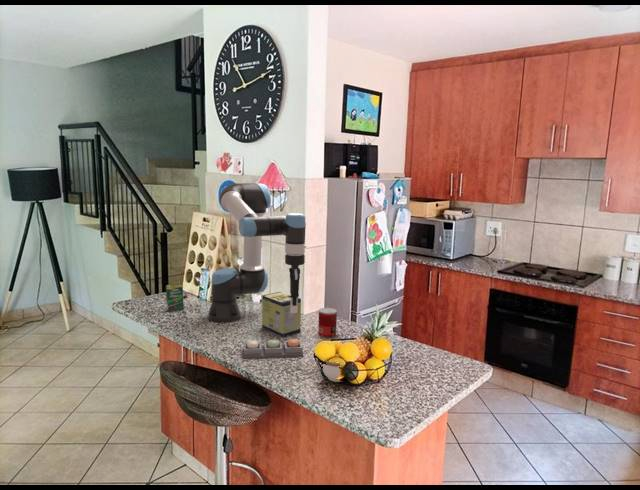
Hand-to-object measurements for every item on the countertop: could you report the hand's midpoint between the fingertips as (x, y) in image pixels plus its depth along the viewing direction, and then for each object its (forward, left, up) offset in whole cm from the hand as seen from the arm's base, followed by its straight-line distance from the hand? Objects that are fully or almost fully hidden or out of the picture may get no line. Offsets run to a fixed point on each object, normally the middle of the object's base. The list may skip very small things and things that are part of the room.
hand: (293, 312), depth 178 cm
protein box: (-25, -3, -17) cm, 30 cm away
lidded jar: (+24, +13, -17) cm, 32 cm away
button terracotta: (0, 0, -14) cm, 14 cm away
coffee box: (-57, -54, -17) cm, 80 cm away
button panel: (0, -8, -16) cm, 18 cm away
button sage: (0, -8, -14) cm, 16 cm away
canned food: (-18, +17, -17) cm, 30 cm away
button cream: (0, -16, -14) cm, 21 cm away
